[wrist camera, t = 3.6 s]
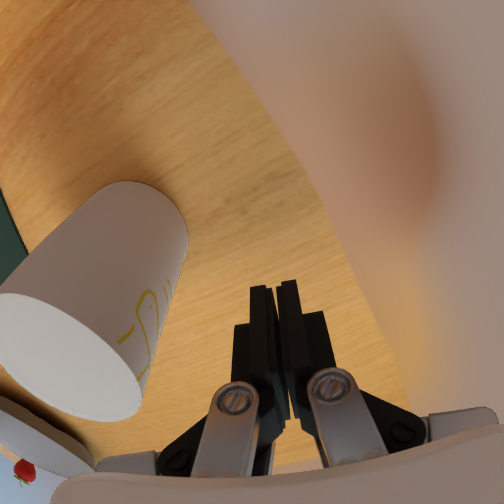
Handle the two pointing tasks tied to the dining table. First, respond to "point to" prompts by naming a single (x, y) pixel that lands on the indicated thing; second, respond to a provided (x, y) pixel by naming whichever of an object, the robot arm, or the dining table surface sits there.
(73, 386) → the cup
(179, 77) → the dining table surface
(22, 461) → the strawberry
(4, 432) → the flat disc
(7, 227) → the mat
